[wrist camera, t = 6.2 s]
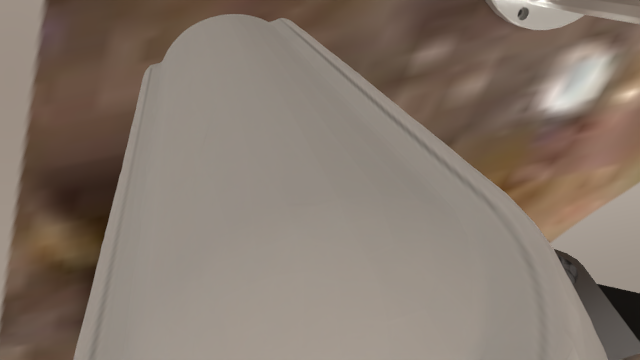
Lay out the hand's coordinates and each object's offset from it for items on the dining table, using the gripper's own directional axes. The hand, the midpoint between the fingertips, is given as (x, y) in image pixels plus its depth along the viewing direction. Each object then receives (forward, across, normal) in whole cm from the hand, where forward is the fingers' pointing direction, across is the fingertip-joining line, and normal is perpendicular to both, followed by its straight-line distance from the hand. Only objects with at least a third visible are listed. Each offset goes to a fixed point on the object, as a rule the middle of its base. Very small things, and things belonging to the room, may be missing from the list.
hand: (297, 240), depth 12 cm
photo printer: (+3, 0, 0) cm, 3 cm away
